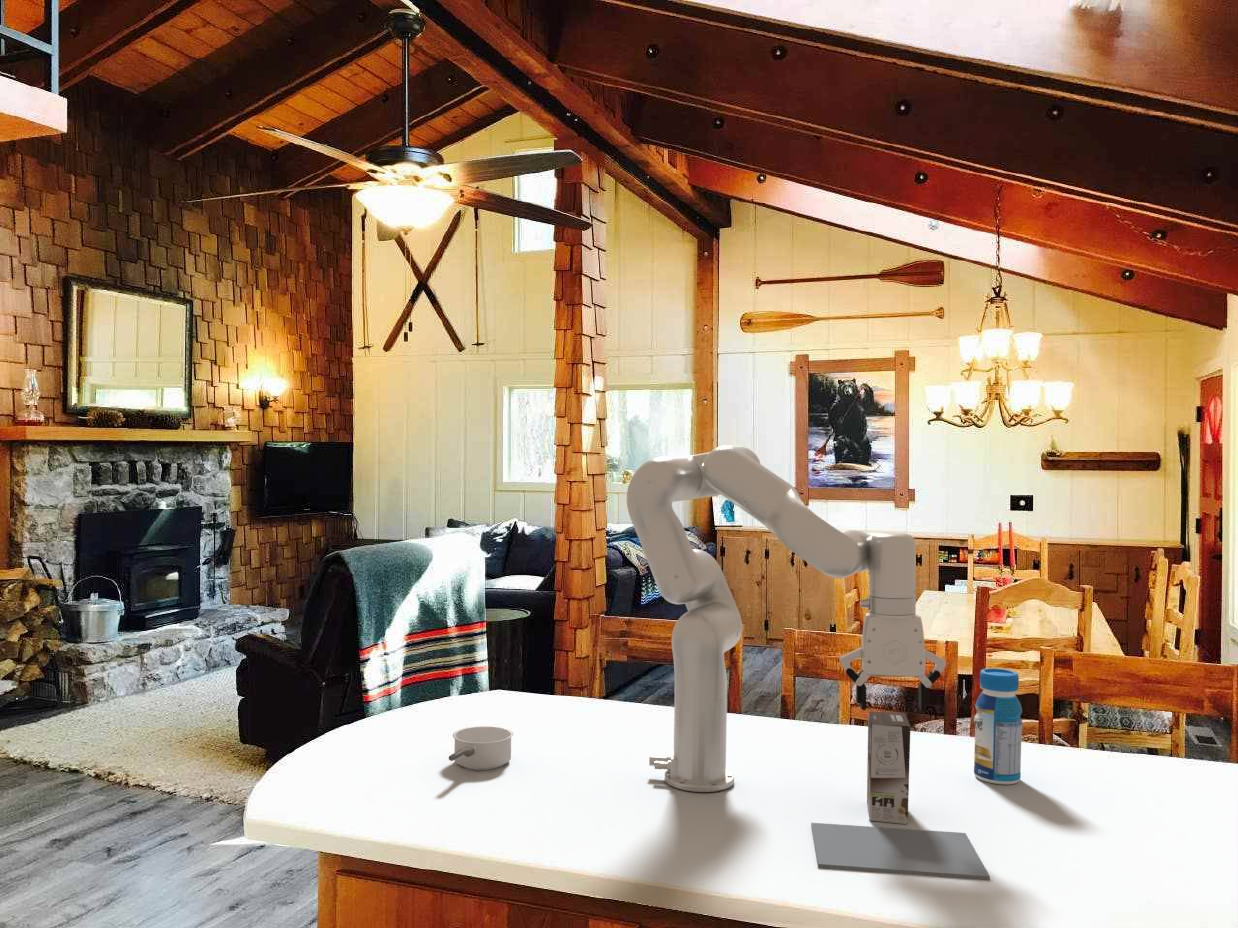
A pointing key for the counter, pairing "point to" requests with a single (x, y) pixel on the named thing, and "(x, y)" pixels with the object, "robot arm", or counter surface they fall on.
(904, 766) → the coffee box
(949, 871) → the slate mat
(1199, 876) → the counter surface
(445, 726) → the counter surface
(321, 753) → the counter surface
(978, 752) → the beverage bottle
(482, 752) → the saucepan
